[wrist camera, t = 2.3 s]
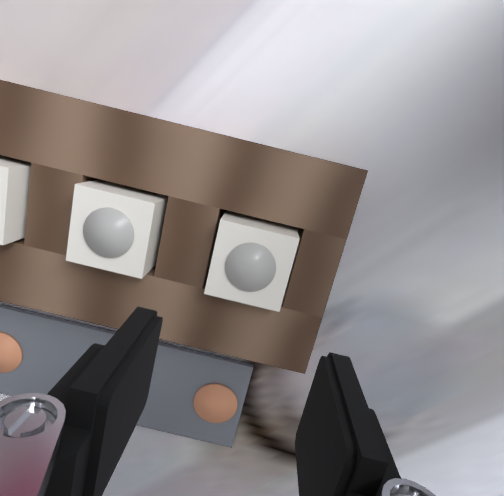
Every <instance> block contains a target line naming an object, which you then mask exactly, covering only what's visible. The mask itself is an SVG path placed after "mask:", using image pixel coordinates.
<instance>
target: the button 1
mask: <svg viewBox="0 0 504 496" xmlns="http://www.w3.org/2000/svg"><path fill="white" fill-rule="evenodd" d="M30 174H31V163H29V162H25V161H21V160H17V159H13V158H9V157H5V156H1V155H0V245H6V244H8V243H11V242H14V241H17V240H19V239H22V238H25V229H26V218H27V207H28V196H29V185H30Z"/></svg>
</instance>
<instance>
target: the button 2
mask: <svg viewBox="0 0 504 496" xmlns="http://www.w3.org/2000/svg"><path fill="white" fill-rule="evenodd" d="M299 240H300V238H299V235H298V232H297V228H295V227H291V226H287V225H283V224H279V223H275V222H271V221H267V220H263V219H259V218H255V217H250V216H246V215H242V214H238V213H234V212H230V211H226V212H225V214H224V215H223V216H222V218H221V219H220V223H219V228H218V232H217V237H216V241H215V246H214V251H213V255H212V260H211V264H210V269H209V273H208V278H207V282H206V287H205V291H204V294H207V295H211V296H215V297H219V298H223V299H227V300H232V301H236V302H240V303H244V304H248V305H252V306H256V307H261V308H265V309H269V310H273V311H277V312H280V308H281V305H282V301H283V297H284V294H285V290H286V287H287V283H288V279H289V276H290V272H291V269H292V265H293V261H294V258H295V254H296V251H297V247H298V243H299Z"/></svg>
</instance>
